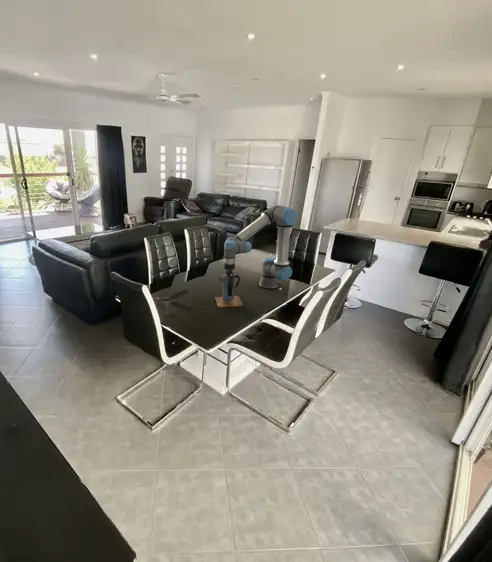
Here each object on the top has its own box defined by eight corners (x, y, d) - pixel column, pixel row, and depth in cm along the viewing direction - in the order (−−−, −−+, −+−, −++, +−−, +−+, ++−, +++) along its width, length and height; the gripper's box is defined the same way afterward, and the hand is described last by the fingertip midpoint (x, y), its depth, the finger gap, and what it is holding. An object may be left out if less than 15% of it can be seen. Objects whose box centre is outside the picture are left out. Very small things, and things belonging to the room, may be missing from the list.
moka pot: (217, 296, 235) (217, 270, 228) (237, 295, 236) (238, 269, 229) (218, 301, 226) (219, 275, 219) (240, 300, 227) (241, 274, 220)
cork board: (238, 297, 241) (238, 295, 240) (243, 306, 226) (243, 304, 225) (214, 298, 239) (214, 296, 238) (218, 307, 224) (218, 306, 224)
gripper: (221, 258, 230) (221, 288, 239) (226, 268, 211) (226, 299, 220) (232, 258, 231) (231, 287, 240) (238, 267, 212) (237, 299, 220)
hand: (228, 293), depth 230 cm, fingers closed on moka pot, 8 cm apart
